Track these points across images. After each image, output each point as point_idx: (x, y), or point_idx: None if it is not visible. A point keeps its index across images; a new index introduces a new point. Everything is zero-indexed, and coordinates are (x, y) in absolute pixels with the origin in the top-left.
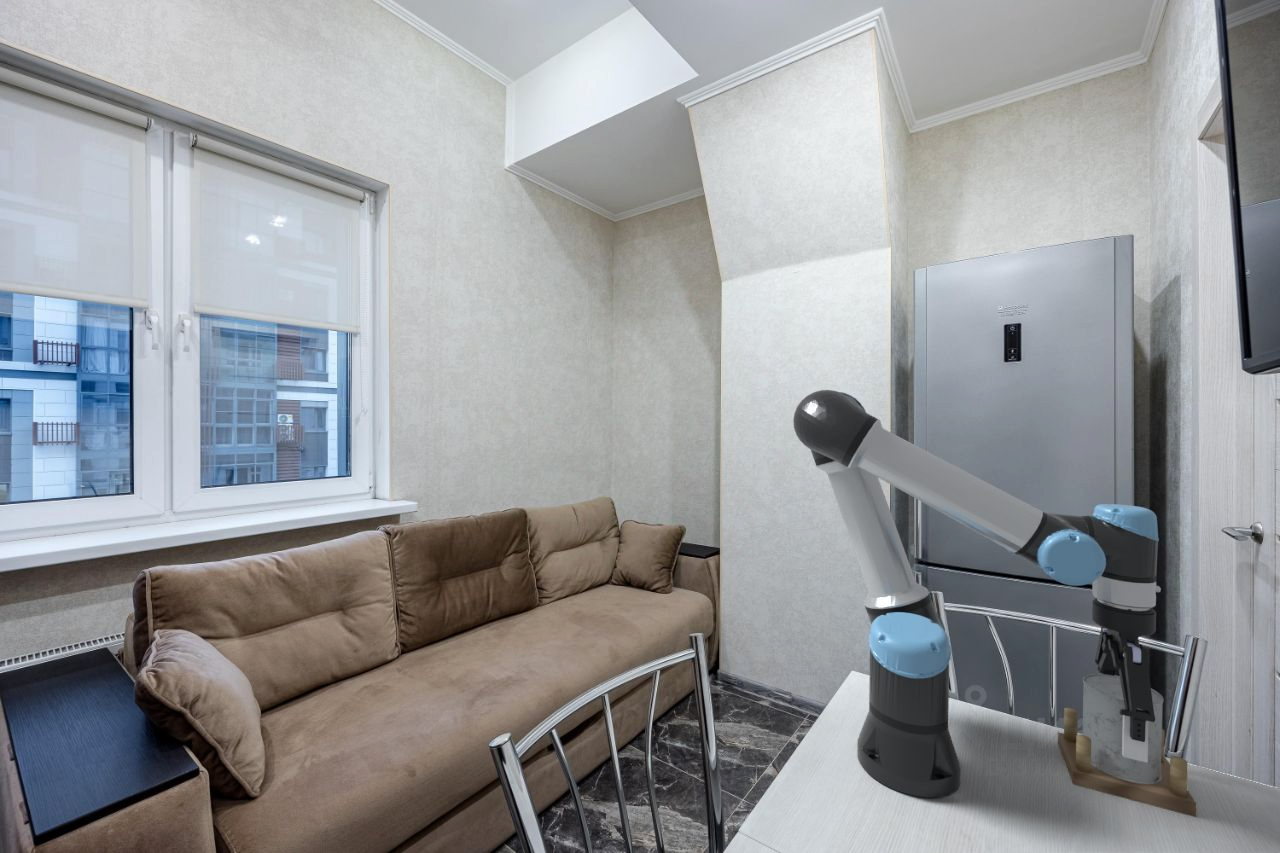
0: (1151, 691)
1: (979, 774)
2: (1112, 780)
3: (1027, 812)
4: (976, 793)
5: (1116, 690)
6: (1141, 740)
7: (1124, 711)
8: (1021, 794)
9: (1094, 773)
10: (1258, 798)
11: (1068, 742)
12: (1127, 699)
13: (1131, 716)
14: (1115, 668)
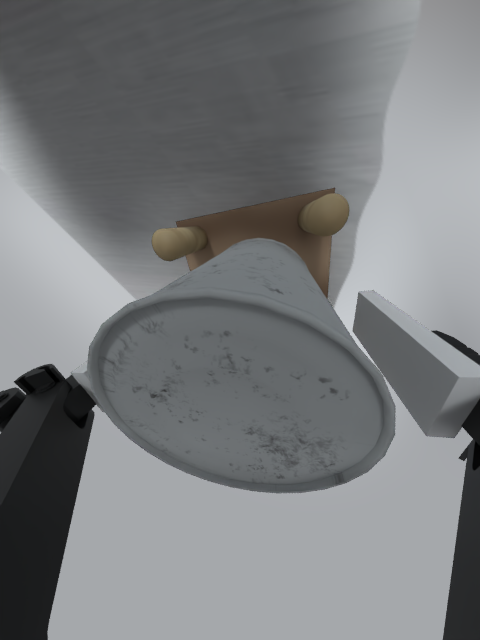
0: (278, 481)
1: (66, 15)
2: None
3: (51, 153)
4: (3, 33)
5: (198, 404)
6: None
7: (26, 383)
8: (85, 135)
9: (197, 255)
10: None
11: (291, 213)
12: (7, 429)
13: (3, 391)
14: (470, 502)
